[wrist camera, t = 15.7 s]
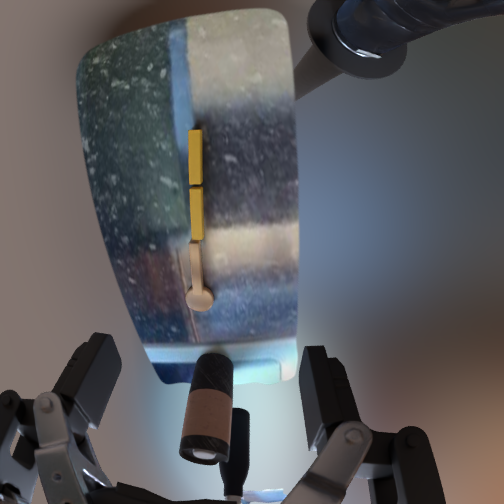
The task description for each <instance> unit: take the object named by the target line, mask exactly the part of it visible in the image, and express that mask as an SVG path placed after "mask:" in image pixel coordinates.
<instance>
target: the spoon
mask: <svg viewBox="0 0 504 504" xmlns="http://www.w3.org/2000/svg"><path fill="white" fill-rule="evenodd" d="M189 251H190V264H191V275H192V286H193V287H191V288H190V289H189V290H188V291H187V294H186V298H185V299H186V303H187V305H188V306H189V307H190V308H191V309H193V310H195V311H207V310H209V309H210V308H211V307H212V305H213V301H214V295H213V293H212V291H211V290H210V289H208V288H207V287H205V286H204V285H203V271H202V255H201V240H192V239H191V240H190V242H189Z"/></svg>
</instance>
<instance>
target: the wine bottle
mask: <svg viewBox="0 0 504 504" xmlns="http://www.w3.org/2000/svg"><path fill="white" fill-rule="evenodd" d="M249 420H250V414H249V412H248V411H246V410H244V409H241V408H232V420H231V435H230V450H229V460H228V462H226V461H221V462H219V467H220V474H221V477H222V480H223V483H224V496H225V497H226V498H225V501H237V504H241V500H242V499H241V497H243V485H244V482H245V480H246V477H247V474H248V470H249V437H250V433H249V431H250V429H249V428H250V425H249V424H250V421H249Z"/></svg>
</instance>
